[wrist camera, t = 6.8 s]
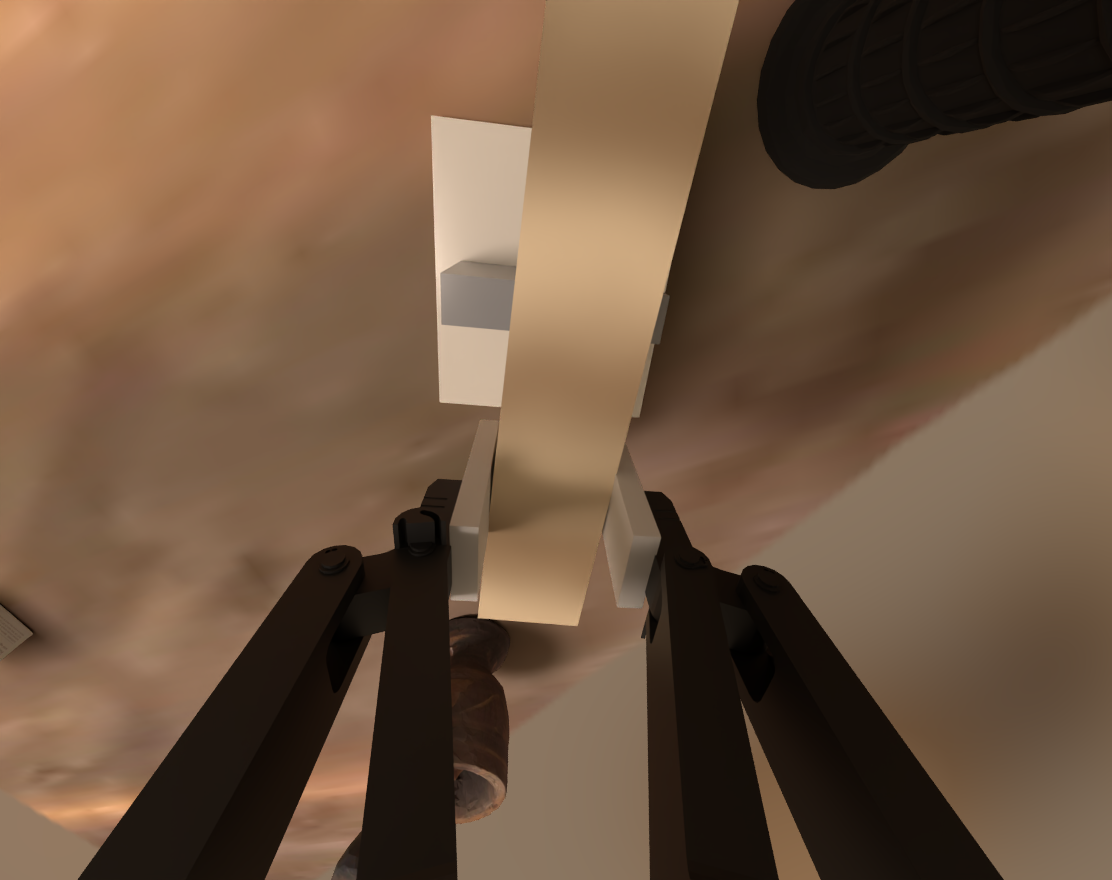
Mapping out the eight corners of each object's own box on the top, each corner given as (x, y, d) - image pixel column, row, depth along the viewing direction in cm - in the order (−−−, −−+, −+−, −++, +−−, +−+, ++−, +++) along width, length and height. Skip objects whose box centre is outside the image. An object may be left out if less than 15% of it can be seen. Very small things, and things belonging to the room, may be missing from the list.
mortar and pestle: (384, 630, 42) (270, 936, 24) (434, 580, 39) (346, 886, 21) (481, 676, 45) (443, 969, 28) (532, 633, 43) (528, 930, 25)
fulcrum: (436, 119, 23) (396, 84, 17) (688, 151, 24) (741, 129, 18) (443, 395, 30) (417, 443, 24) (635, 410, 31) (660, 460, 25)
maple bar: (553, -18, 12) (559, -125, 8) (692, 15, 12) (757, -72, 8) (488, 549, 20) (477, 618, 17) (570, 557, 21) (577, 626, 17)
